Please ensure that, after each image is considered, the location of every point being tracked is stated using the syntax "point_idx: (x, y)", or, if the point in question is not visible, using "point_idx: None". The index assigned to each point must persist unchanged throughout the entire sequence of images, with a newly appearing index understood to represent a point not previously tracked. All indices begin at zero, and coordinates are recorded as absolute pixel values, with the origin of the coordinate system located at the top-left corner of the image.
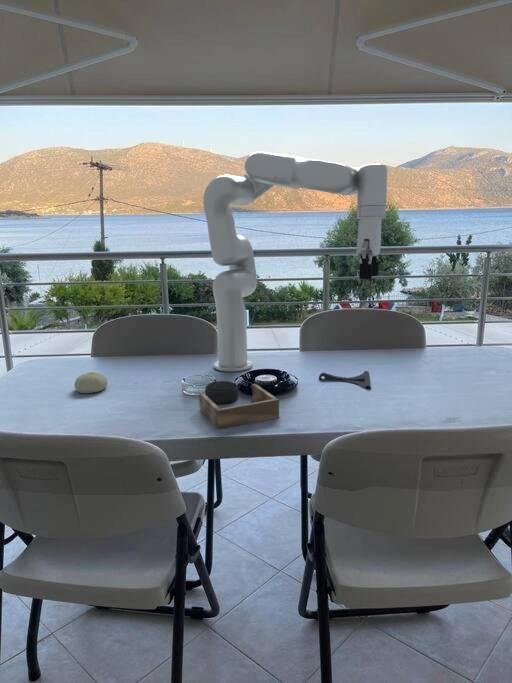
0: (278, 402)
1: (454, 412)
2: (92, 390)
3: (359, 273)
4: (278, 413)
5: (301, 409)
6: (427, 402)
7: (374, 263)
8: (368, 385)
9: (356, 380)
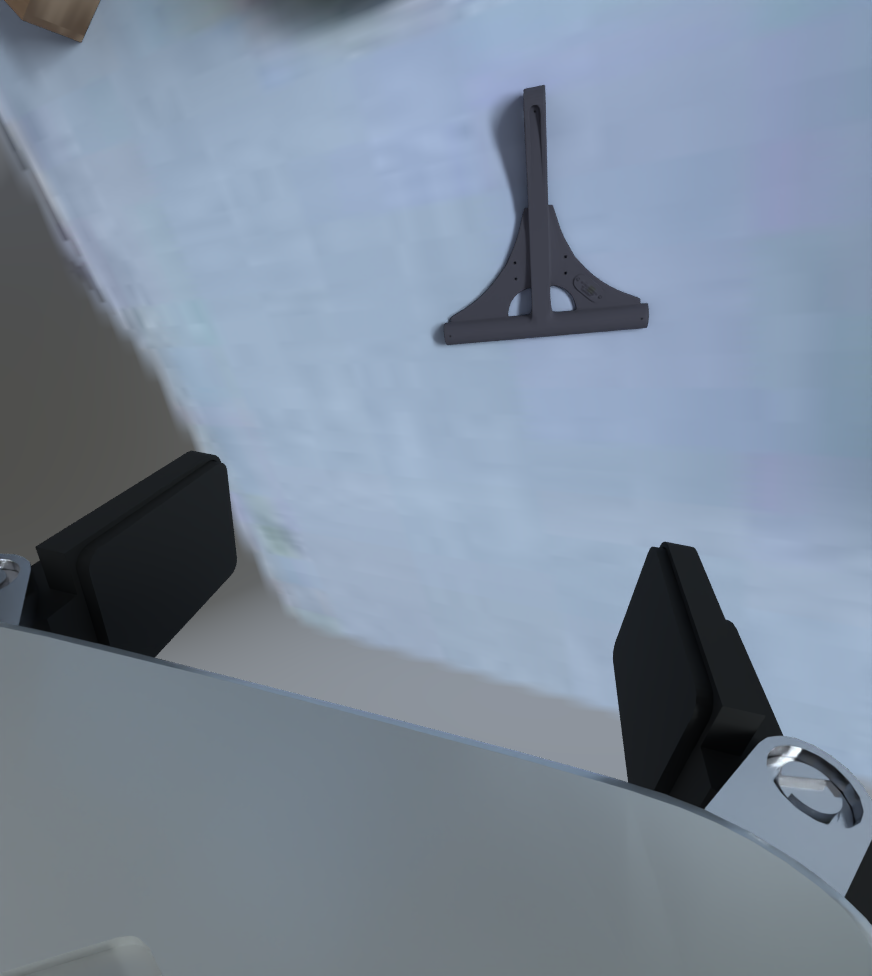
0: (31, 22)
1: (326, 548)
2: None
3: (151, 475)
4: (67, 36)
5: (177, 111)
6: (375, 501)
7: (645, 767)
8: (445, 337)
9: (529, 282)
